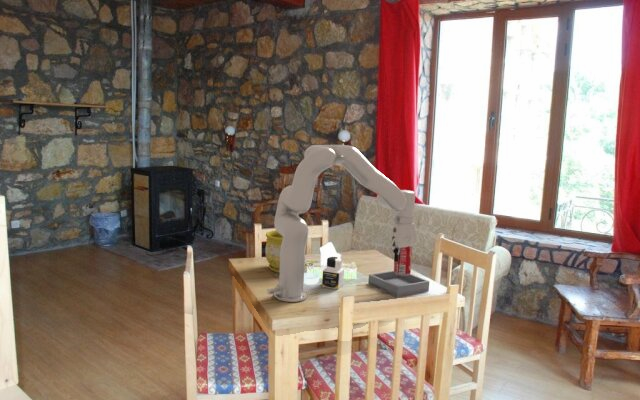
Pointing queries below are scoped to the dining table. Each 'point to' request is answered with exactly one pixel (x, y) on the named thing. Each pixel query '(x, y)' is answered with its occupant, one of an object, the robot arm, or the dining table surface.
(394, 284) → the tray
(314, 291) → the dining table surface
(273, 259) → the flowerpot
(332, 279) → the medicine bottle
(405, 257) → the soda can
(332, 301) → the dining table surface
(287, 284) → the robot arm
